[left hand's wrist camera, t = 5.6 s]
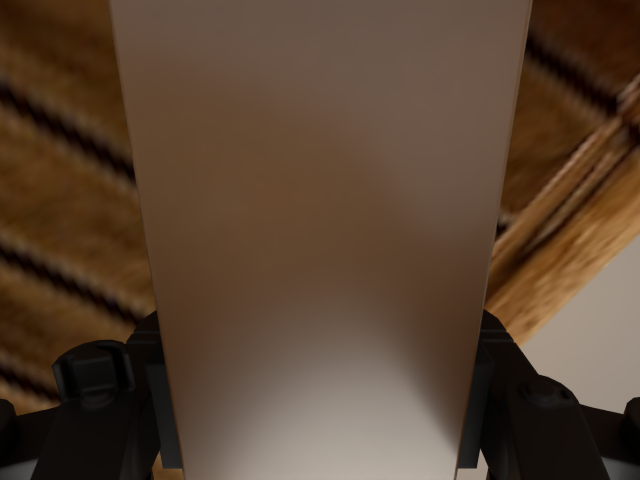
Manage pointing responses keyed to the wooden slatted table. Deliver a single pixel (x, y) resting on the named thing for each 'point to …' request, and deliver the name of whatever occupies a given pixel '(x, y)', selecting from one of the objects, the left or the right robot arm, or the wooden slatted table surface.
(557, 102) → the wooden slatted table surface
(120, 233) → the wooden slatted table surface
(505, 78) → the bar
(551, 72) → the wooden slatted table surface
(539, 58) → the wooden slatted table surface
